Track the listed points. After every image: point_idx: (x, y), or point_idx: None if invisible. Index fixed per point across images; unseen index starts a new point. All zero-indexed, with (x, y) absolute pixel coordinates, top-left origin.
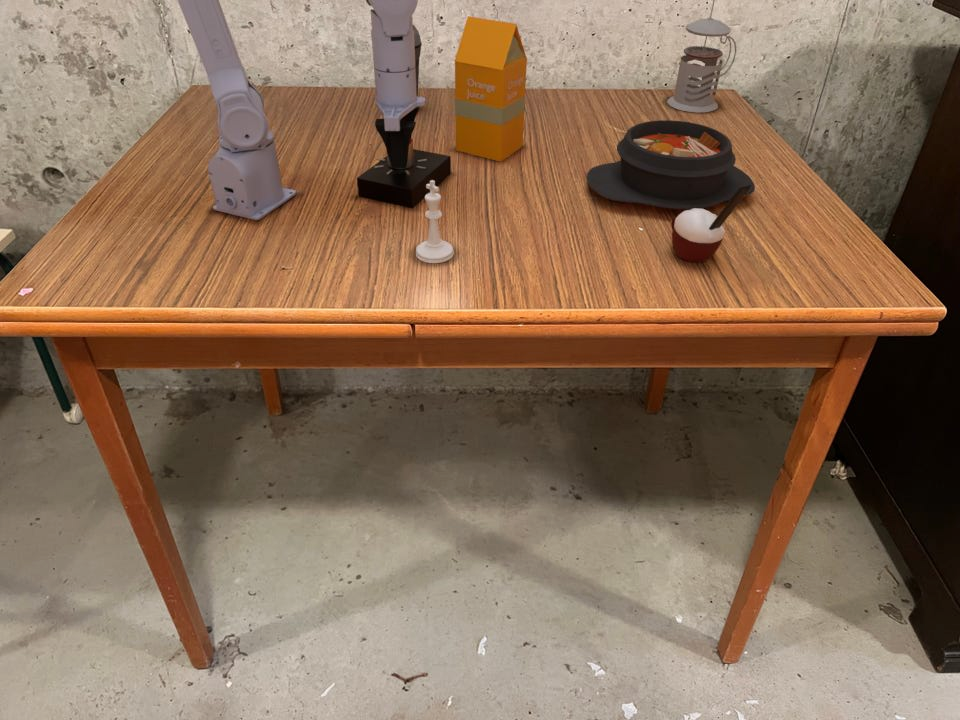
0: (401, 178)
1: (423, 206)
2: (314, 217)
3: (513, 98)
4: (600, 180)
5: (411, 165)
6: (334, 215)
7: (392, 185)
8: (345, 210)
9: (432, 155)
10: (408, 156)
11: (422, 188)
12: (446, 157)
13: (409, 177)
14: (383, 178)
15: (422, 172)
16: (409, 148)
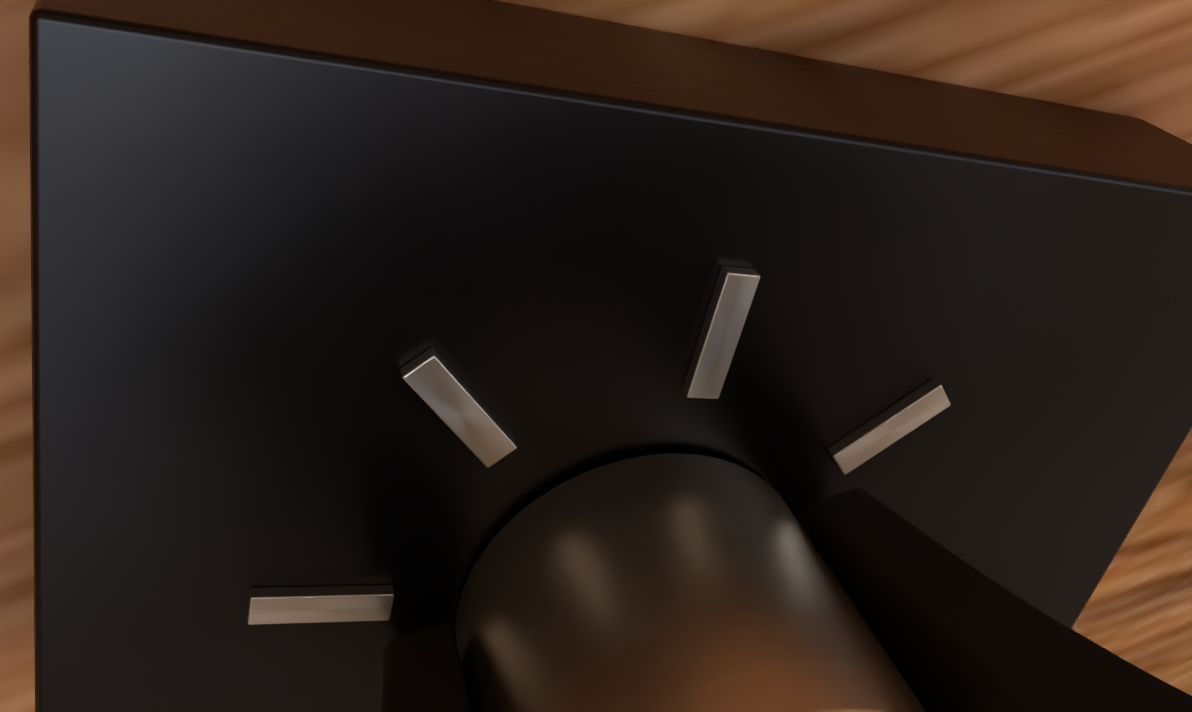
0: (1031, 421)
1: (1095, 21)
2: (1172, 682)
3: None
4: None
5: (714, 463)
6: (1163, 606)
7: (1188, 432)
8: (1101, 585)
9: (168, 346)
10: (819, 577)
11: (1026, 131)
12: (161, 73)
13: (1008, 352)
14: (1022, 574)
15: (858, 258)
16: (850, 663)
